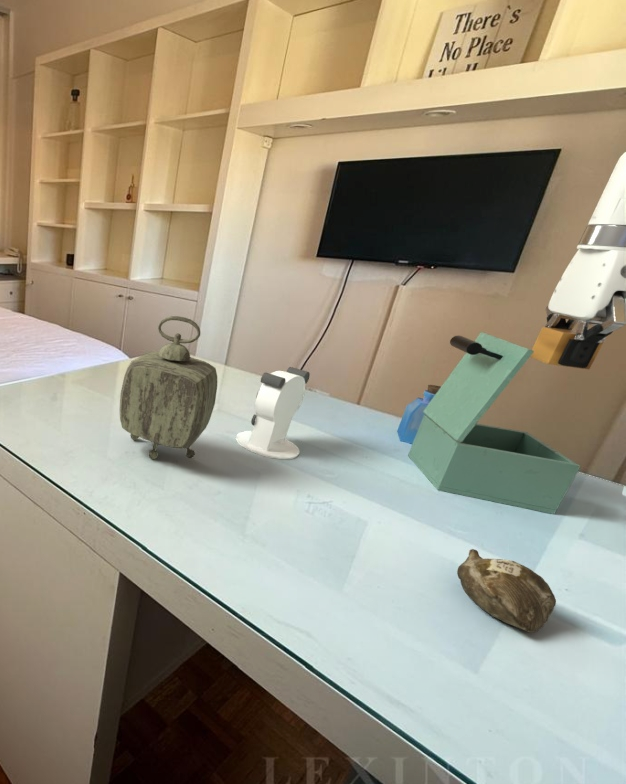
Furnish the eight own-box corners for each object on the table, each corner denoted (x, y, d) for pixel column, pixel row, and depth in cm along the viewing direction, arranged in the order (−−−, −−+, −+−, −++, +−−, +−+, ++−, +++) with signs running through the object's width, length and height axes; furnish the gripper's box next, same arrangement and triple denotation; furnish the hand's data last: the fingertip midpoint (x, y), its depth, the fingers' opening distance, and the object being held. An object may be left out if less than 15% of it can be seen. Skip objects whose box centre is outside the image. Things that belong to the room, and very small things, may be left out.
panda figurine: (256, 427, 97) (274, 360, 92) (311, 449, 88) (334, 377, 83) (224, 439, 90) (241, 367, 85) (280, 464, 82) (303, 386, 76)
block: (567, 361, 73) (582, 331, 72) (589, 369, 69) (606, 337, 67) (528, 356, 75) (542, 326, 73) (547, 364, 70) (563, 332, 69)
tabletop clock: (202, 457, 82) (233, 321, 73) (188, 478, 75) (220, 329, 66) (128, 434, 89) (148, 307, 80) (108, 450, 82) (127, 313, 73)
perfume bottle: (432, 439, 98) (453, 387, 94) (437, 449, 93) (460, 395, 89) (397, 431, 101) (416, 380, 97) (400, 440, 96) (421, 387, 92)
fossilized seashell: (453, 546, 58) (437, 593, 53) (508, 526, 54) (497, 576, 48) (508, 597, 56) (498, 652, 50) (571, 581, 51) (568, 640, 45)
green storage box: (506, 474, 84) (527, 432, 81) (554, 514, 72) (581, 466, 69) (407, 455, 89) (424, 414, 86) (437, 490, 77) (457, 443, 74)
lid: (486, 333, 79) (450, 321, 80) (534, 351, 67) (491, 337, 68) (427, 413, 86) (394, 401, 87) (461, 442, 74) (423, 427, 75)
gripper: (712, 244, 57) (634, 381, 63) (608, 242, 72) (553, 353, 78) (632, 239, 59) (565, 371, 65) (547, 238, 74) (499, 346, 80)
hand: (559, 360), depth 72 cm, fingers closed on block, 5 cm apart
